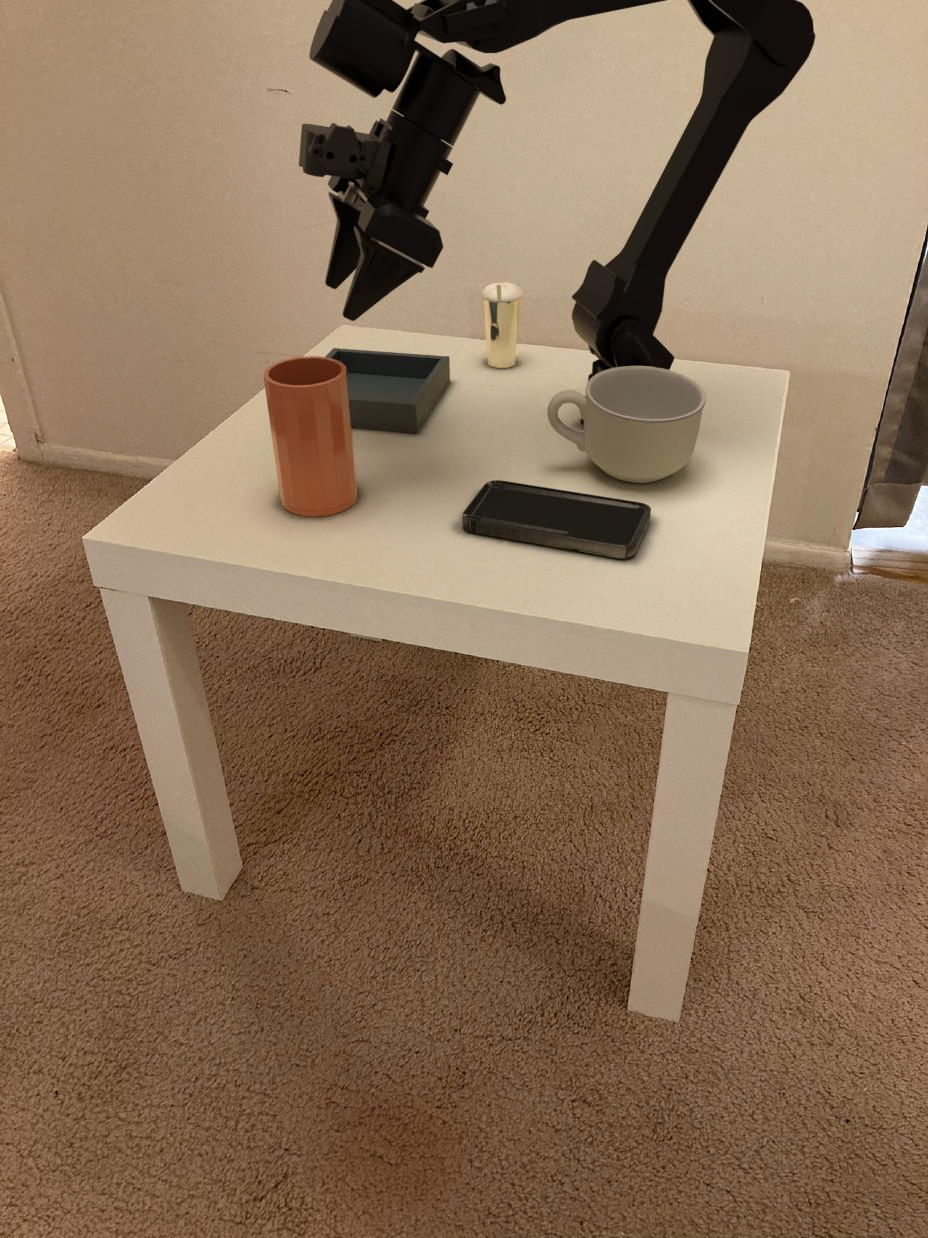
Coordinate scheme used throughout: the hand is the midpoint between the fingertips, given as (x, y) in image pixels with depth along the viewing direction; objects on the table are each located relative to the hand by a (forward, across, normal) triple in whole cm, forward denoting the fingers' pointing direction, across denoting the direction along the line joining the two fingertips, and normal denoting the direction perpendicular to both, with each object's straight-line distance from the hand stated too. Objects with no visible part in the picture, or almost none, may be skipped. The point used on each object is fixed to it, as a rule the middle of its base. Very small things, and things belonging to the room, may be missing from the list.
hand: (338, 301), depth 87 cm
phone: (+6, +18, +20) cm, 27 cm away
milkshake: (+2, -19, +26) cm, 33 cm away
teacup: (+1, +9, +28) cm, 30 cm away
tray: (+11, -13, +12) cm, 21 cm away
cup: (+15, +7, +4) cm, 17 cm away
